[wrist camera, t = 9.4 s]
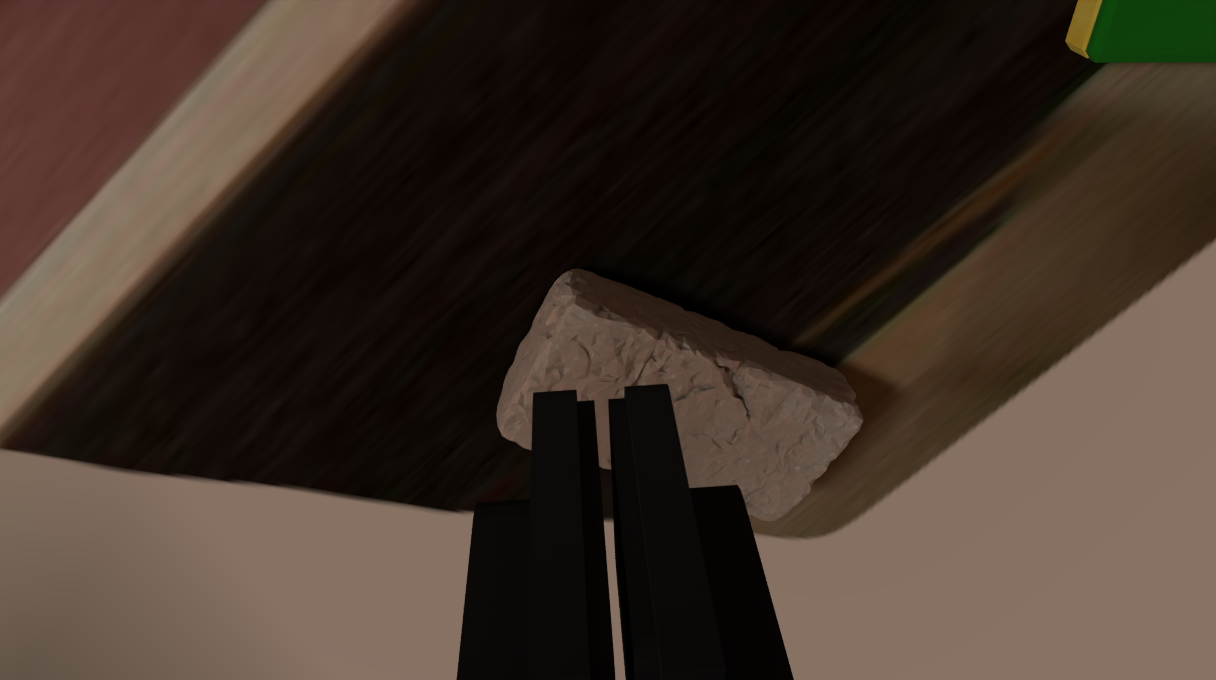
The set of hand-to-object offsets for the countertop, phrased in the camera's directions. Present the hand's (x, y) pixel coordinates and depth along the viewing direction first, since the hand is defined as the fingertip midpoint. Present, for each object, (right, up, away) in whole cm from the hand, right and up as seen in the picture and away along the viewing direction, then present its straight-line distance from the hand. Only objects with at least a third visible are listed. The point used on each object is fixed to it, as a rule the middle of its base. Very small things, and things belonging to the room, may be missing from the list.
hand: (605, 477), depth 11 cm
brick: (+4, 0, +32) cm, 33 cm away
